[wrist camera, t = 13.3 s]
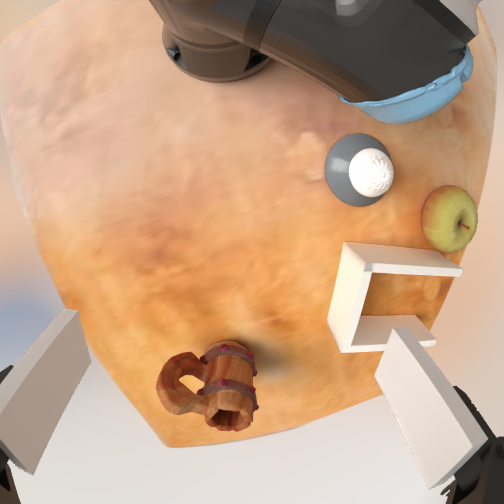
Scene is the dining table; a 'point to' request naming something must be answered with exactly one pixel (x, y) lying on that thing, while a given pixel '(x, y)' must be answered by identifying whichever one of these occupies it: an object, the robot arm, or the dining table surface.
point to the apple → (449, 218)
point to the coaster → (340, 164)
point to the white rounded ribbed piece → (371, 172)
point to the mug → (212, 385)
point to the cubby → (356, 285)
